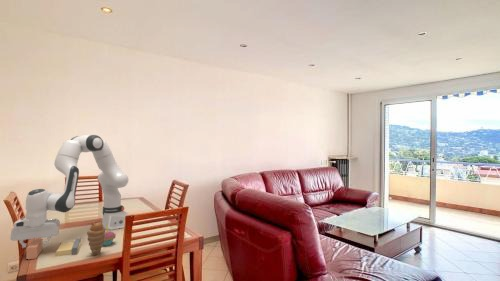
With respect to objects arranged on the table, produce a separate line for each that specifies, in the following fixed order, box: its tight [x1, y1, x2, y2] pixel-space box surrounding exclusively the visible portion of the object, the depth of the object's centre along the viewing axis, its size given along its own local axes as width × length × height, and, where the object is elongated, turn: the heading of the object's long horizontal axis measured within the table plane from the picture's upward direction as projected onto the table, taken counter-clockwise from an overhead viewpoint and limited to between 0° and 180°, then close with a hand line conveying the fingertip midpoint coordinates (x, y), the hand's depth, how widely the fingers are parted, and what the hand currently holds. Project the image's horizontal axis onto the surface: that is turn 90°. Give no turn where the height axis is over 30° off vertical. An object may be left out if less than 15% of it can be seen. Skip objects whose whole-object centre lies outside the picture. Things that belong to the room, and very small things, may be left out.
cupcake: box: [103, 224, 117, 247], centre depth 158 cm, size 9×8×12 cm
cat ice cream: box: [86, 219, 106, 256], centre depth 144 cm, size 9×8×18 cm
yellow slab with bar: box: [55, 237, 82, 257], centre depth 148 cm, size 10×15×4 cm
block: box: [25, 238, 44, 260], centre depth 141 cm, size 4×12×6 cm, turn 26°
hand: (35, 246), depth 141 cm, fingers open, 8 cm apart
